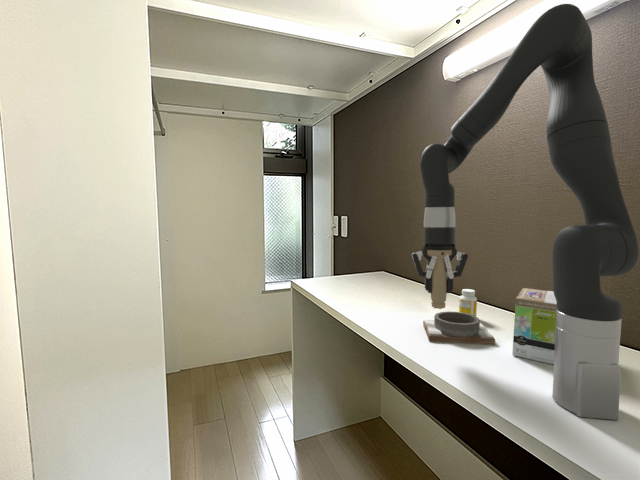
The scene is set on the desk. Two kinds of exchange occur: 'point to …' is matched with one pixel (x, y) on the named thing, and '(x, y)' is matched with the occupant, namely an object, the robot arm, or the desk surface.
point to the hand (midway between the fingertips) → (438, 292)
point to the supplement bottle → (468, 302)
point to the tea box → (535, 325)
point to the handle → (439, 278)
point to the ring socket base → (457, 329)
